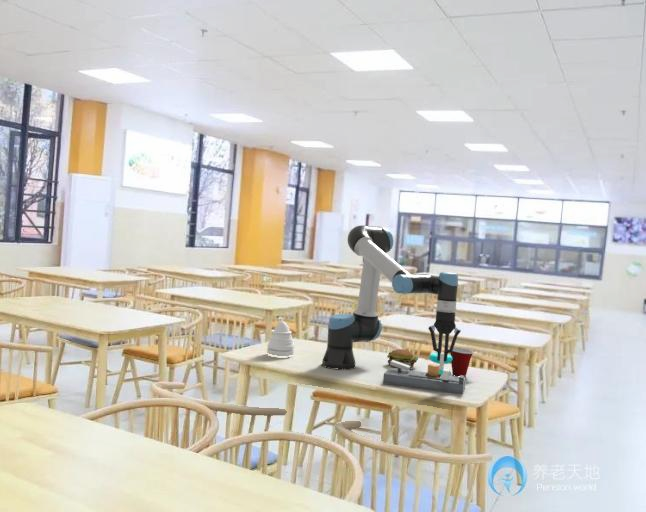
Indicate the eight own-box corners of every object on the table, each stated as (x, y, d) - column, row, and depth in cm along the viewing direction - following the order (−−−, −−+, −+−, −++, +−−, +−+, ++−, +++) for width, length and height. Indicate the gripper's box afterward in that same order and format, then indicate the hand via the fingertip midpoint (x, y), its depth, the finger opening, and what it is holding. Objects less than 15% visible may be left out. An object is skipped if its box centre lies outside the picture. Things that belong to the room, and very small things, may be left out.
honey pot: (263, 353, 292) (265, 316, 291) (287, 352, 297) (290, 316, 296) (272, 358, 280) (274, 320, 279) (297, 358, 285) (300, 320, 285)
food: (422, 369, 278) (423, 352, 277) (395, 370, 273) (396, 352, 273) (408, 362, 291) (409, 346, 290) (381, 363, 286) (383, 346, 285)
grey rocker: (390, 364, 253) (391, 361, 253) (391, 363, 257) (392, 359, 256) (408, 370, 251) (409, 367, 251) (409, 369, 254) (410, 365, 254)
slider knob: (442, 379, 240) (443, 370, 240) (443, 377, 244) (444, 368, 244) (448, 380, 239) (449, 371, 239) (449, 378, 243) (450, 369, 243)
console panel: (383, 383, 246) (384, 367, 246) (389, 376, 259) (390, 362, 258) (462, 394, 237) (463, 378, 236) (465, 386, 249) (466, 371, 249)
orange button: (426, 377, 248) (427, 365, 248) (428, 375, 252) (428, 363, 252) (438, 378, 246) (439, 367, 246) (439, 376, 251) (440, 365, 251)
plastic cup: (472, 379, 263) (474, 352, 263) (447, 376, 265) (449, 350, 265) (471, 374, 274) (473, 348, 274) (447, 371, 276) (449, 345, 276)
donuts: (429, 355, 260) (430, 351, 270) (427, 378, 261) (428, 373, 271) (452, 357, 258) (452, 353, 268) (450, 380, 259) (451, 375, 268)
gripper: (428, 310, 239) (423, 368, 240) (461, 313, 235) (456, 373, 237) (430, 308, 247) (426, 364, 248) (463, 311, 243) (458, 369, 244)
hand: (441, 368), depth 242 cm, fingers closed
